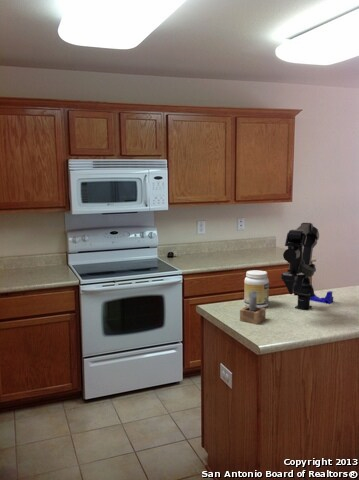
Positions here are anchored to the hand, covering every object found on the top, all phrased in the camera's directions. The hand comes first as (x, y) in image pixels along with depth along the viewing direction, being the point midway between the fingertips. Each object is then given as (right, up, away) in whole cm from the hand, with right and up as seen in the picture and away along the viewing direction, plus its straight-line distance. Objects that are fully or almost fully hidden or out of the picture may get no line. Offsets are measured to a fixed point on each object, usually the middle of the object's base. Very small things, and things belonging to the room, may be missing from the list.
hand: (295, 291), depth 190 cm
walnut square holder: (-19, -13, -1) cm, 23 cm away
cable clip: (+20, -8, +26) cm, 34 cm away
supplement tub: (-14, -10, +21) cm, 27 cm away
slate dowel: (-19, -13, -1) cm, 23 cm away
